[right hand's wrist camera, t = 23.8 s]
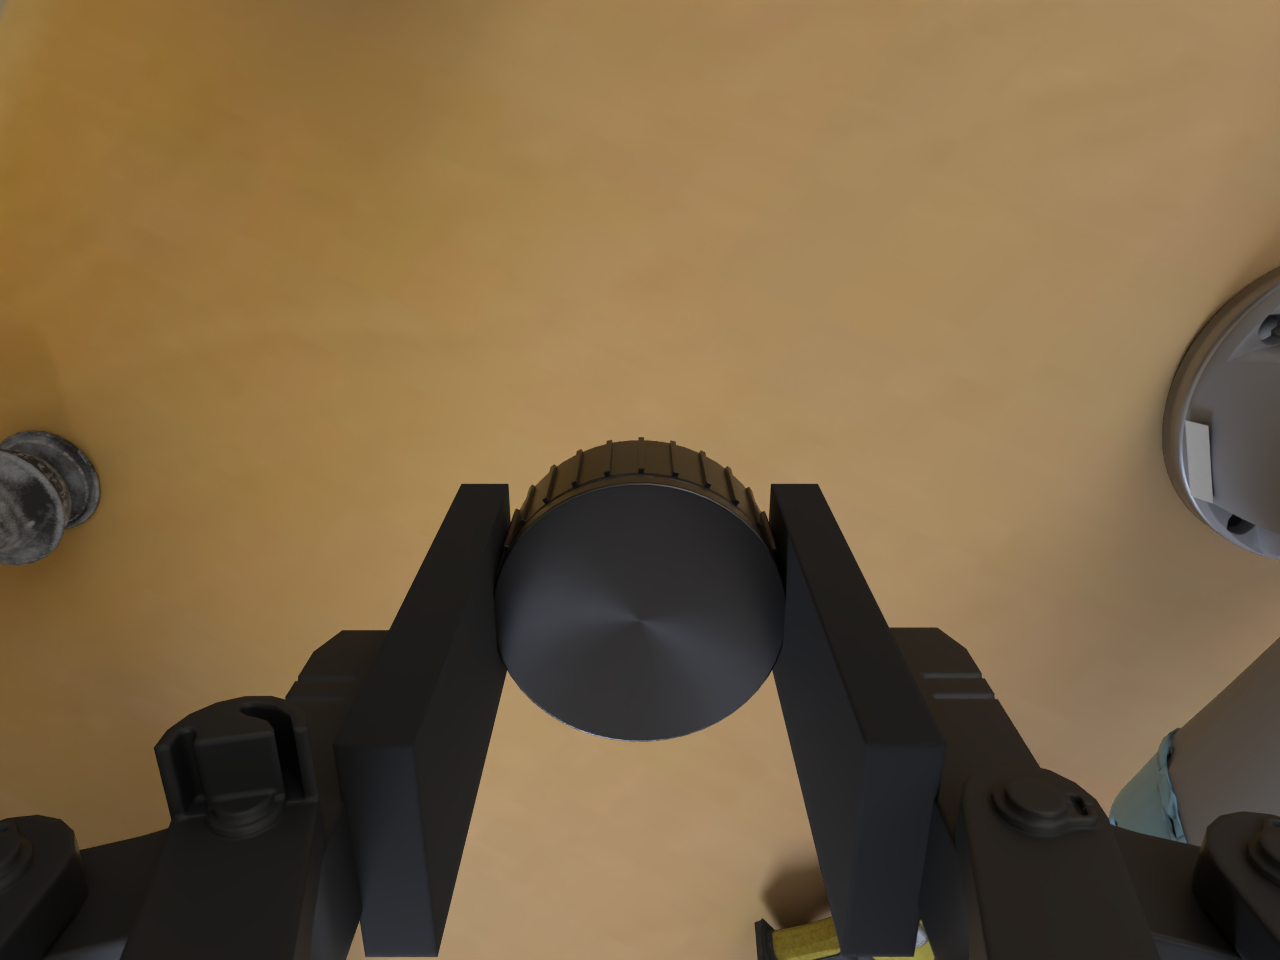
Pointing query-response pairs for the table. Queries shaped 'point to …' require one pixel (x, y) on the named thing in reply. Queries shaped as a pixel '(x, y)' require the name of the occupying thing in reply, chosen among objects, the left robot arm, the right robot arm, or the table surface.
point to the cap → (639, 592)
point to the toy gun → (819, 943)
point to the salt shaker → (42, 494)
